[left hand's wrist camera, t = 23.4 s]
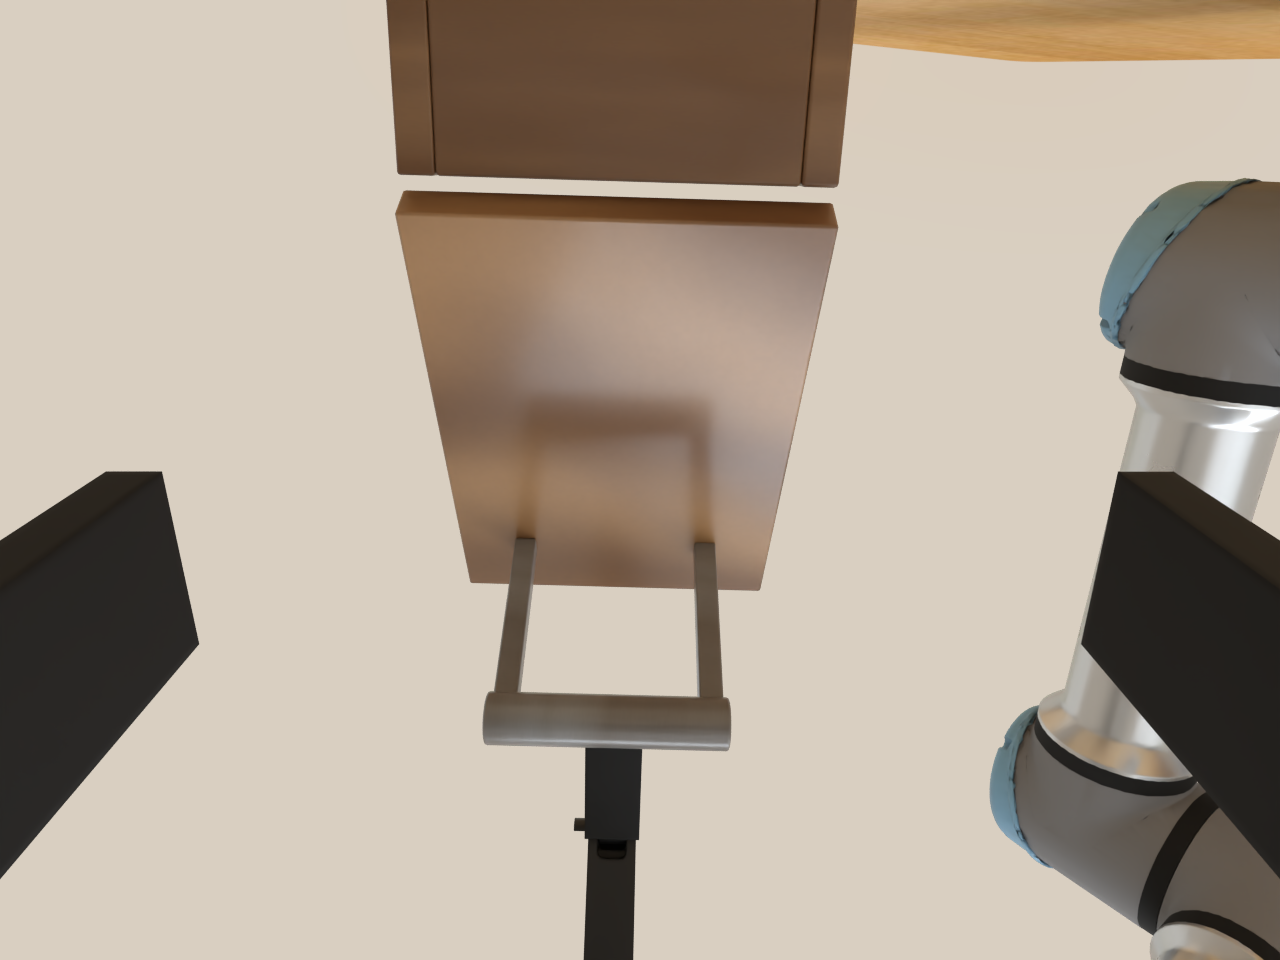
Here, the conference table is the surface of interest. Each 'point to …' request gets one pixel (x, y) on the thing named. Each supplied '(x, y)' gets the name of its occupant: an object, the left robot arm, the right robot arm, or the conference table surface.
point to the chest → (622, 89)
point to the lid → (615, 414)
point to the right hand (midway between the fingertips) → (609, 826)
